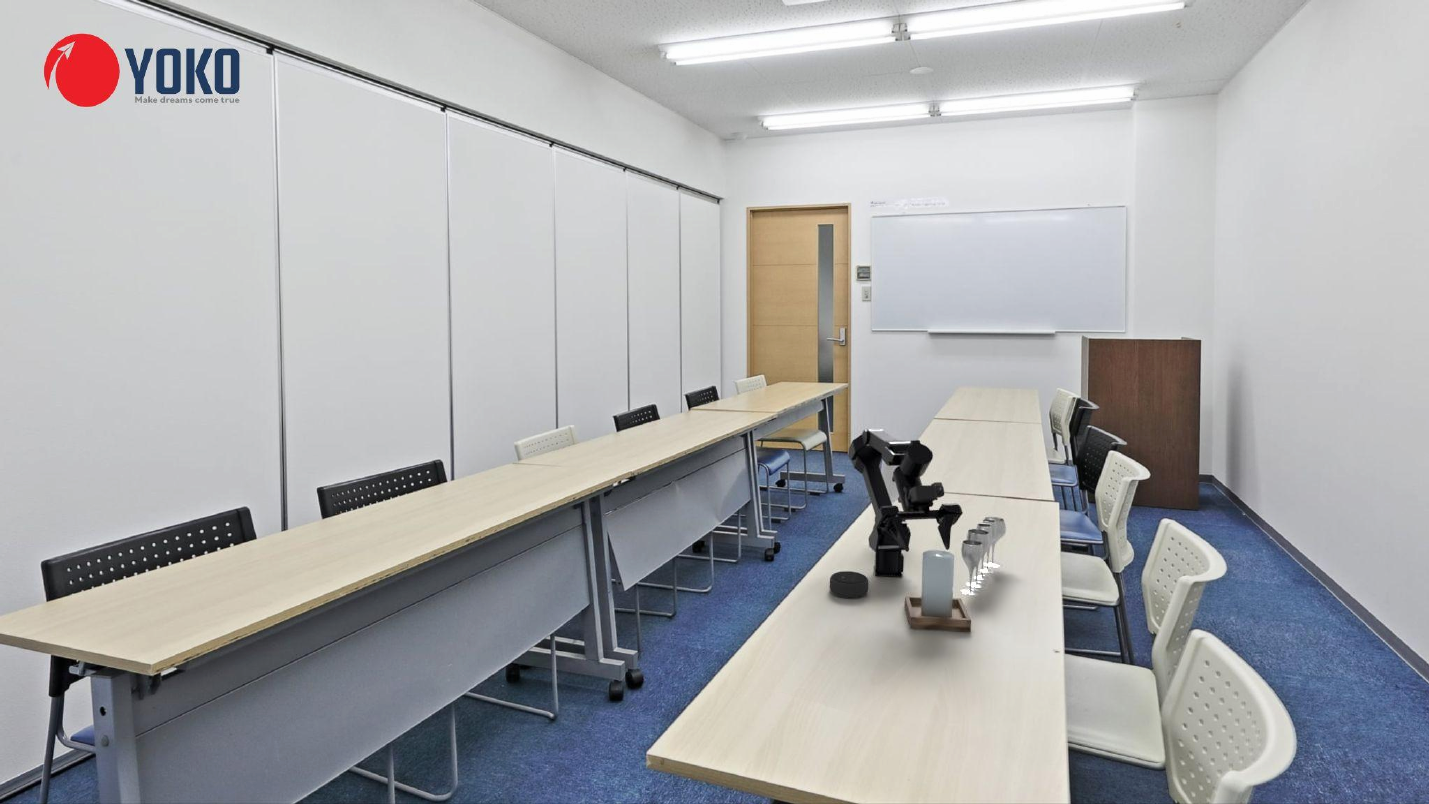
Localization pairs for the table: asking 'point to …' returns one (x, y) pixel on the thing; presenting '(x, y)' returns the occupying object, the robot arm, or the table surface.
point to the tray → (955, 623)
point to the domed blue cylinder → (937, 583)
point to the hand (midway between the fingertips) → (928, 550)
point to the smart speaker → (849, 584)
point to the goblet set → (981, 550)
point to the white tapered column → (889, 481)
